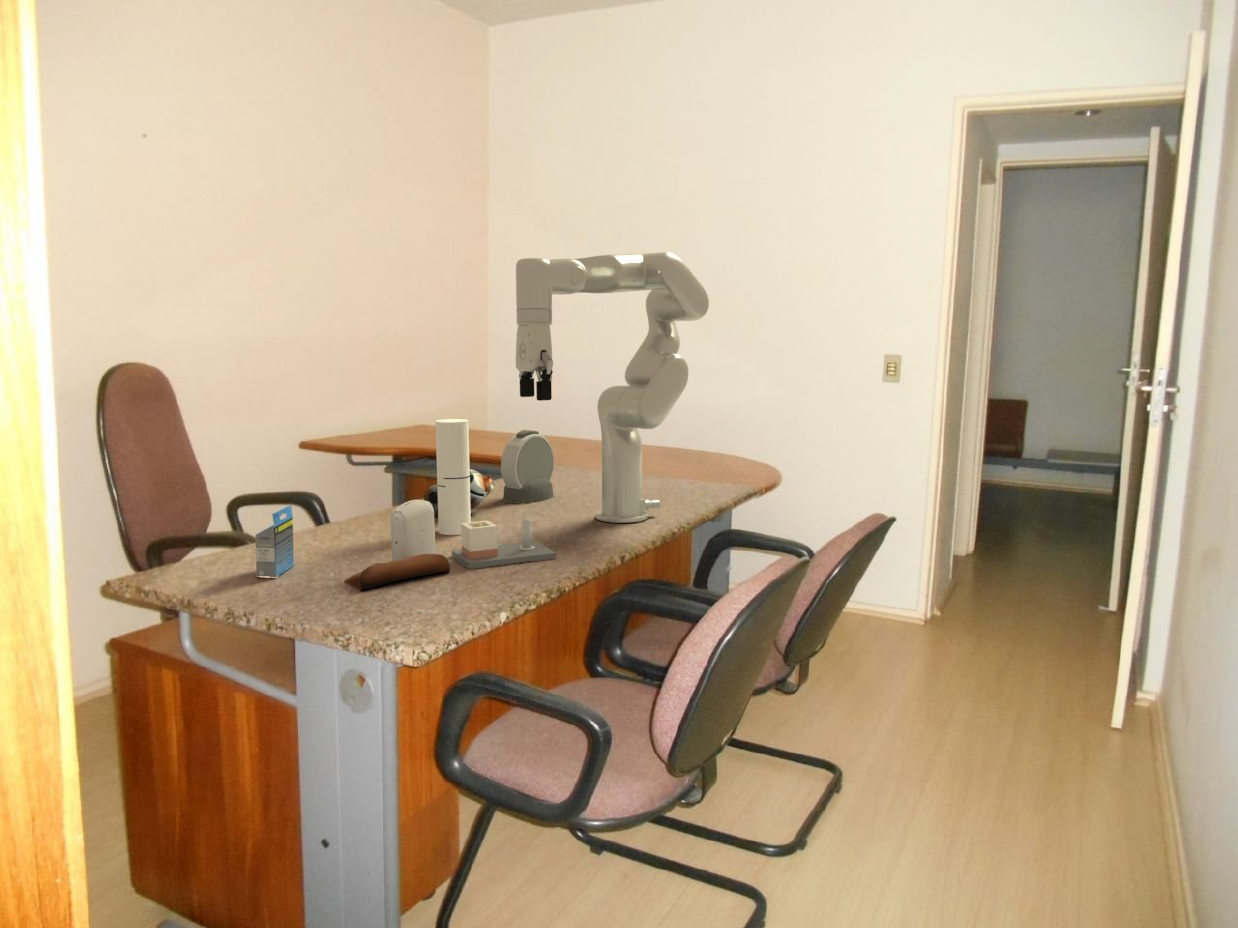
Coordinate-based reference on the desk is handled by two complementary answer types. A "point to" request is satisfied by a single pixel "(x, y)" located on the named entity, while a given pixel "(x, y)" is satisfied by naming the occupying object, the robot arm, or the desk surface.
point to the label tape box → (275, 545)
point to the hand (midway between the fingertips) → (535, 398)
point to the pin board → (510, 551)
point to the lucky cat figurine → (478, 490)
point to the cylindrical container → (453, 475)
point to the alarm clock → (527, 468)
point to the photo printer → (412, 529)
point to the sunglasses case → (399, 570)
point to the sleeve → (479, 540)
